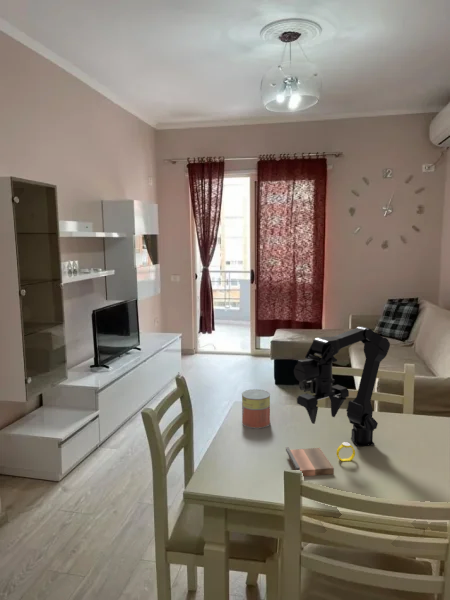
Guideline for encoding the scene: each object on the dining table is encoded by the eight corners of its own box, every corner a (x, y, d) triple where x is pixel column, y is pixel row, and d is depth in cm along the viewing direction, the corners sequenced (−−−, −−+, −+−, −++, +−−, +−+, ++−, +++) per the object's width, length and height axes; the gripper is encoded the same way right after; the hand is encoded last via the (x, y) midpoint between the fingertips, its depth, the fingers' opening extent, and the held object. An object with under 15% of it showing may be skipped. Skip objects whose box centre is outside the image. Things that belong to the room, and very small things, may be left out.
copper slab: (319, 453, 158) (319, 445, 158) (333, 474, 145) (333, 465, 144) (285, 455, 157) (285, 447, 157) (296, 476, 143) (296, 467, 143)
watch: (352, 458, 155) (353, 442, 154) (355, 462, 152) (357, 445, 151) (335, 458, 154) (336, 441, 154) (337, 462, 152) (339, 445, 151)
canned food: (244, 416, 192) (244, 388, 190) (271, 418, 189) (271, 390, 188) (239, 427, 181) (239, 398, 179) (268, 429, 178) (268, 399, 177)
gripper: (326, 365, 165) (326, 406, 167) (286, 375, 155) (286, 418, 157) (350, 372, 155) (349, 416, 158) (308, 383, 146) (308, 430, 148)
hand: (323, 420), depth 155 cm, fingers open, 9 cm apart
